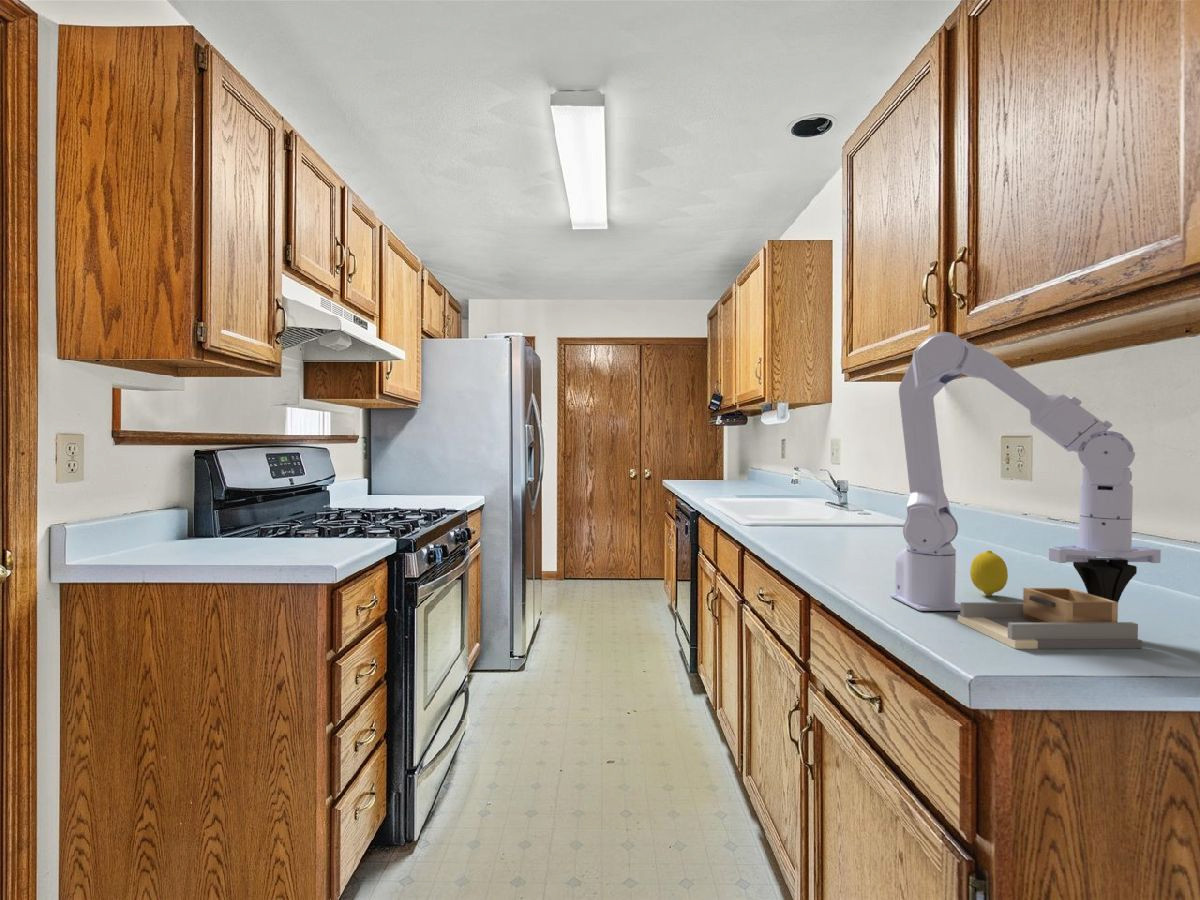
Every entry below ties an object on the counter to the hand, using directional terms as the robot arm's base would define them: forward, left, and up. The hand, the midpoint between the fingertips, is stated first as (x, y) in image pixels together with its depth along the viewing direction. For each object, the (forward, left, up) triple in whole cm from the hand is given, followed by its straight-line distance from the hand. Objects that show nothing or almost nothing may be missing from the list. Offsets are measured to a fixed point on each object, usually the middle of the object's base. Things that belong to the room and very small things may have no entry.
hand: (1103, 613), depth 85 cm
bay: (0, -9, -3) cm, 9 cm away
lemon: (-21, -2, -3) cm, 21 cm away
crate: (0, -5, -2) cm, 6 cm away
